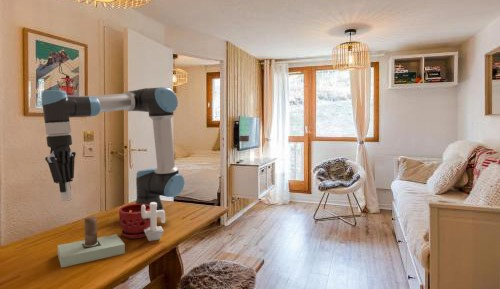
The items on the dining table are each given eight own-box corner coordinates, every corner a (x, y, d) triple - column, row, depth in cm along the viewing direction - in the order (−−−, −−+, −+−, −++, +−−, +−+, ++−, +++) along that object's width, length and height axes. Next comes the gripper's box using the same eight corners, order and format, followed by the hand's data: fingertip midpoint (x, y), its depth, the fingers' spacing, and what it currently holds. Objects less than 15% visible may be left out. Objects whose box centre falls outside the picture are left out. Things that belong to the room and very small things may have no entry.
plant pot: (114, 234, 133) (114, 206, 132) (143, 227, 142) (143, 201, 141) (127, 243, 124) (126, 213, 123) (157, 235, 133) (157, 207, 132)
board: (116, 242, 124) (116, 234, 124) (124, 253, 115) (124, 244, 114) (57, 254, 112) (57, 245, 112) (61, 267, 103) (60, 257, 102)
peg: (96, 250, 117) (96, 216, 116) (99, 254, 113) (98, 219, 112) (83, 253, 114) (82, 218, 113) (85, 257, 110) (84, 221, 110)
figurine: (166, 239, 128) (166, 203, 127) (142, 243, 124) (142, 206, 123) (163, 233, 135) (163, 199, 134) (140, 237, 131) (140, 201, 130)
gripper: (61, 133, 117) (68, 195, 119) (34, 137, 104) (43, 206, 106) (80, 132, 116) (87, 195, 119) (56, 136, 103) (64, 205, 106)
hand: (66, 200), depth 113 cm, fingers closed
